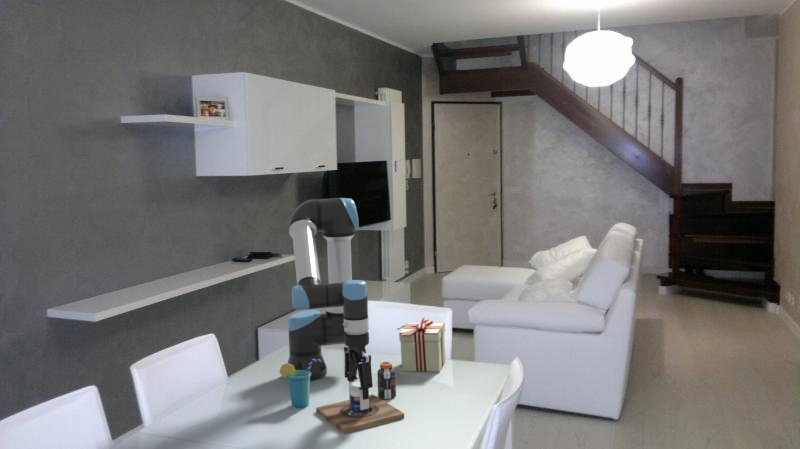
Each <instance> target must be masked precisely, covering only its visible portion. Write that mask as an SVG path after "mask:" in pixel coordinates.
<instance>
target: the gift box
mask: <svg viewBox="0 0 800 449" xmlns="http://www.w3.org/2000/svg"><path fill="white" fill-rule="evenodd" d="M397 330H398V331H399V330H400V331H399V333H398V335H399V336H398V338H399V342H400V354H401V357H400V358H401V371H402V372H419V373H440V372H441V370H442V369H443V367H444V364H445V362H446V343H445V342H446V339H445V332H446V324H445V322H434V321H433V320H430V319H427V318H425V317H423V318H422V319H421V322H407V323H405V324H402V325H401V326H400V327H398V328H397Z"/></svg>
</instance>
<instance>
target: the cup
mask: <svg viewBox="0 0 800 449" xmlns="http://www.w3.org/2000/svg"><path fill="white" fill-rule="evenodd" d="M313 361H314V362H323V360H321V359H312V360H311V361H310V363H309V366H308V369H307V370H295V368H294V366H293V365H291V364H289V363H288V362H286V363H284V364H282V365H281V367H280V369H279V374H280V376H281V377H282V378H284V379H286V380H288V386H289V392H290V400H291V406H292V408H293V409H297V410H298V409H300V410H301V409H306V408H307V407H308V406H309V405H310V387H311V386H310V385H311V380H310V376H311V372H309V371H310V368H311V365H312V362H313Z"/></svg>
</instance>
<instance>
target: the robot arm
mask: <svg viewBox="0 0 800 449" xmlns="http://www.w3.org/2000/svg"><path fill="white" fill-rule="evenodd" d="M359 224H360V223H359V215H358V211H357V207H356V203H355V201H354V200H353V199H352V198H347V197H338V198H337V197H335V198H320V199H316V198H314V199H308V200H305V201H304V202H302V203H301V204H299V205H298V206H297V207H296V209H294V210H293V212H292V214H291V216H290V218H289V222H288V231H289V232H288V233H289V236H290V238H292V242H293V243H292V246H293V254H294V255H293V256H294V265H295V266H294V267H295V276H296V285H293V286H292V288H291V298H292V299H291V300H292V307H293V309H295V310H302V311H299V312H298V311H297V312H296V313H294V314H291V315H290V316H289V318H288V321H287V323H288V324H287V331H288V352H289V356H288V359H287V363H289V364H291V365H293V366H294V368H295V370H307V369H308V366H309V363H310V361H311V360H312V359H321V360H323V362H314V361H313V362H312V365H311V368H310V371H309V372H311V376H310V381H315V380H319V379H321V378H324V377H326V376H327V375H328V368H327V365H326V364H327V363H326V362H325V359H324V357H323V354H322V347H323V346H324V347H325V346H336V345H345V346H344V347H343V353H344V378H346V379H347V380H346V381H347V382H348V398H349V399H348V400H349V402H350V392H351V390H352V388H351V384H352V383H353V382H358V380H359V381H360V385H361V388H359V392H360V410H364V409H368V408H369V395H370V394H369V391H370V390H369V389H370V388H371V389H372V388H373V386H374V384H373V374H372V355H371V354H367V350H366V347H367V345H369V344H370V333H369V329H370V328H369V326H370V325H369V314H368V313H369V305H368V304H369V303H368V301H369V299H368V294H369V290H368V285H367V282H366V281H365V280H361V279H353V273H352V272H353V271H352V269H353V268H352V245H351V244H352V243H351V240H352V238H353V237H354V236H355V234H356V233H355V231H357V230H359V228H360V226H359ZM318 232H322V238H324V239H325V240H326V246H327V247H326V250H327V270H328V271H327V273H328V274H327V275H328V276H327V278H328V283H322V281H321V273H320V265H319V256H318V252H317V243H316V235H317V233H318ZM318 309H325V313H321V312H320V311H319V310H318ZM357 374H358V377H357Z"/></svg>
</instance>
